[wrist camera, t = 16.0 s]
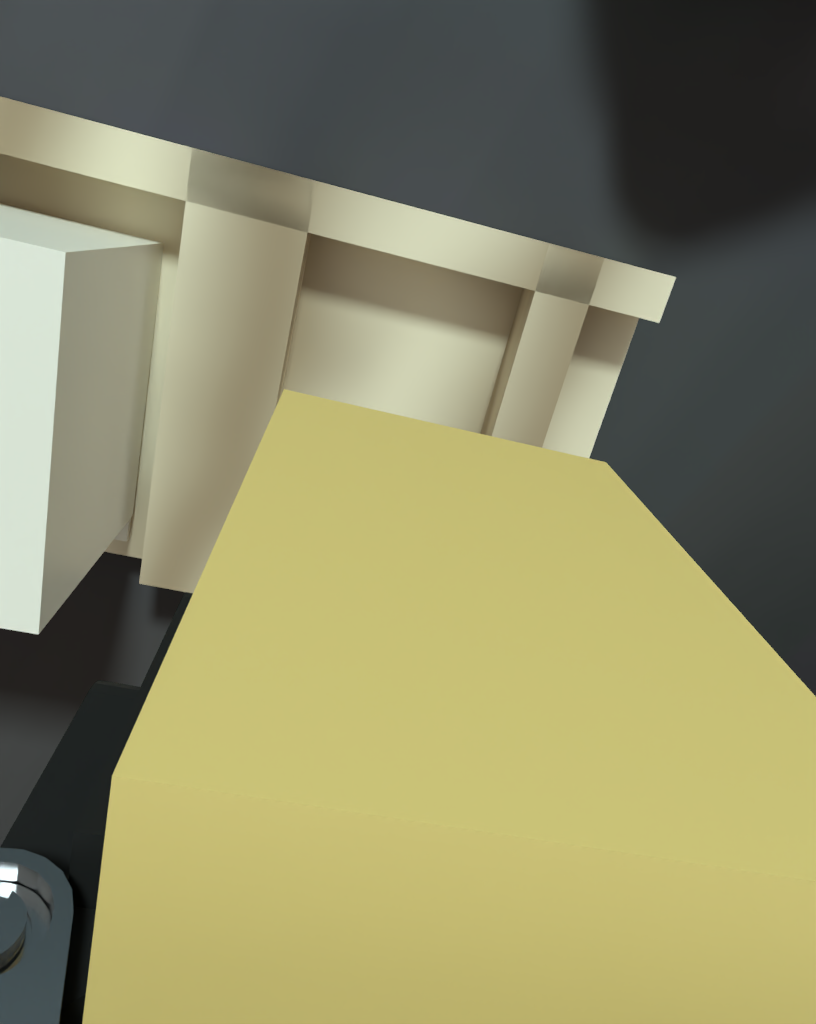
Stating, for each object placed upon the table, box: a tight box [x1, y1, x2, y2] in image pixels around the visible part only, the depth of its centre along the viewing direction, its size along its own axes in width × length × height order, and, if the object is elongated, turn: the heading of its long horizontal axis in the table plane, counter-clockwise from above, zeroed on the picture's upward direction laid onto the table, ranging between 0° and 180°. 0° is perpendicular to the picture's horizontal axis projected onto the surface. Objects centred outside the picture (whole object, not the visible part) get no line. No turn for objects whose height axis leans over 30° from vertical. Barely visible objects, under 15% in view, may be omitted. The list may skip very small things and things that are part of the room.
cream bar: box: [0, 204, 164, 634], centre depth 18 cm, size 8×4×7 cm, turn 167°
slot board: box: [0, 97, 676, 593], centre depth 21 cm, size 22×12×2 cm, turn 76°
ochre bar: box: [82, 389, 816, 1024], centre depth 8 cm, size 8×4×7 cm, turn 166°
